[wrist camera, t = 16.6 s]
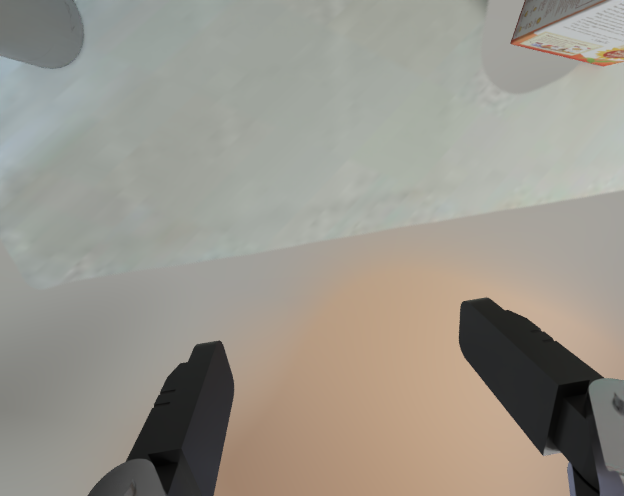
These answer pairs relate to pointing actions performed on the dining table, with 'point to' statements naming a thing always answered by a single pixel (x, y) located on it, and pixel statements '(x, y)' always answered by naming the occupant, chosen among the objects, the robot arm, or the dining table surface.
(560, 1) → the cracker box
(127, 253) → the dining table surface
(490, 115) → the dining table surface
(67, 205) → the dining table surface
